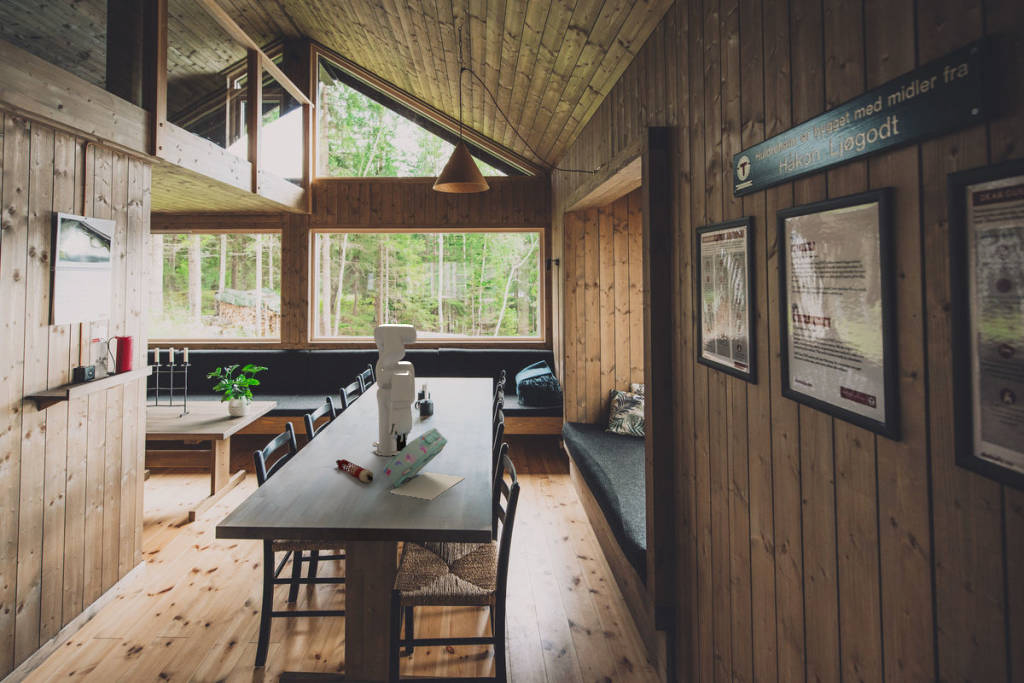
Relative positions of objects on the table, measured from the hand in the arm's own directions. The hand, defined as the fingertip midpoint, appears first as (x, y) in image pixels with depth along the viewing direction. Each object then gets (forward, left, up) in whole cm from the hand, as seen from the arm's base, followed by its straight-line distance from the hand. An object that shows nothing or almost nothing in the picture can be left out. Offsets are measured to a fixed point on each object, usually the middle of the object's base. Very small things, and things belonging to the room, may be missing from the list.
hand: (401, 450), depth 207 cm
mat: (+12, 0, -12) cm, 17 cm away
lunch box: (-2, 0, -9) cm, 9 cm away
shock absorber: (-22, -2, -13) cm, 25 cm away
